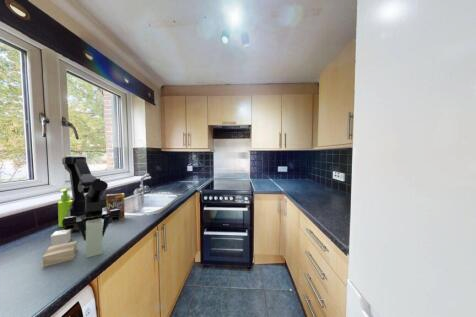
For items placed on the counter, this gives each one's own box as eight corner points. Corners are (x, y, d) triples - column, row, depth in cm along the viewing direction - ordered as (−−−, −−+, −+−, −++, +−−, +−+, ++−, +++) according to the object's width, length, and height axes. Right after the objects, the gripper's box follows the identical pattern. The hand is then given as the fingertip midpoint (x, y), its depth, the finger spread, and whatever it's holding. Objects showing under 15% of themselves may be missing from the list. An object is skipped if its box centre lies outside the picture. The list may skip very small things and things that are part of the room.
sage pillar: (86, 252, 73) (86, 220, 72) (102, 248, 76) (102, 218, 75) (86, 257, 69) (86, 224, 68) (102, 253, 72) (102, 221, 72)
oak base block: (49, 256, 70) (49, 246, 70) (77, 250, 75) (76, 240, 75) (43, 267, 64) (42, 256, 63) (73, 259, 68) (73, 249, 68)
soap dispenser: (55, 228, 94) (54, 190, 93) (61, 223, 100) (60, 188, 99) (70, 226, 96) (69, 189, 95) (75, 222, 102) (74, 187, 102)
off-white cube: (56, 242, 80) (55, 231, 80) (70, 239, 83) (70, 229, 83) (51, 247, 76) (50, 236, 76) (66, 244, 79) (66, 233, 78)
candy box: (106, 222, 103) (106, 195, 102) (106, 219, 107) (106, 194, 106) (124, 218, 108) (124, 193, 107) (124, 216, 112) (124, 192, 111)
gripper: (62, 197, 69) (58, 236, 61) (120, 191, 80) (123, 223, 72) (65, 211, 75) (62, 249, 67) (118, 204, 87) (121, 234, 79)
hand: (94, 238), depth 71 cm, fingers closed on sage pillar, 5 cm apart
